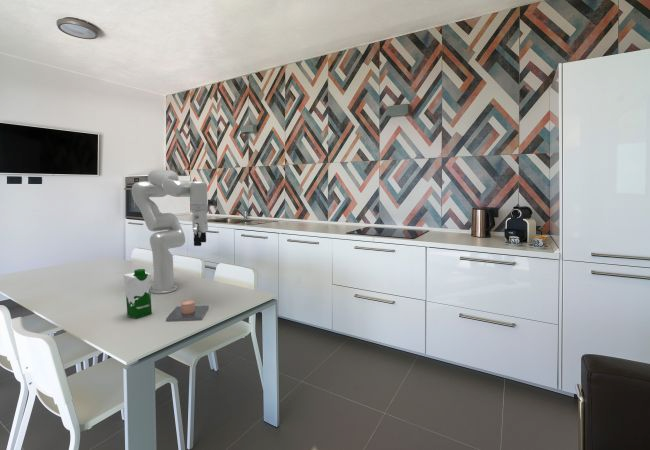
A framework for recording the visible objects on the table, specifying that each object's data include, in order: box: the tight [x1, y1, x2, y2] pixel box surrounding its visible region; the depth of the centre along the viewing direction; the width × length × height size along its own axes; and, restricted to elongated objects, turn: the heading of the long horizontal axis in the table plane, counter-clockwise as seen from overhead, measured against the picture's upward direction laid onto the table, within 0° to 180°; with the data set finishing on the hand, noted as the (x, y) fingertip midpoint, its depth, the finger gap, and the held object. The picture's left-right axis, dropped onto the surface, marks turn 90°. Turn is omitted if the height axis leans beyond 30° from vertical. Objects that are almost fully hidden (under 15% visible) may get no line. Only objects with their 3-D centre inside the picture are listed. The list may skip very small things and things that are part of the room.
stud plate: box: [165, 304, 210, 322], centre depth 145 cm, size 14×14×4 cm
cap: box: [180, 299, 196, 314], centre depth 145 cm, size 5×5×4 cm
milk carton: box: [123, 268, 153, 320], centre depth 144 cm, size 9×9×20 cm
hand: (200, 244), depth 158 cm, fingers open, 9 cm apart
